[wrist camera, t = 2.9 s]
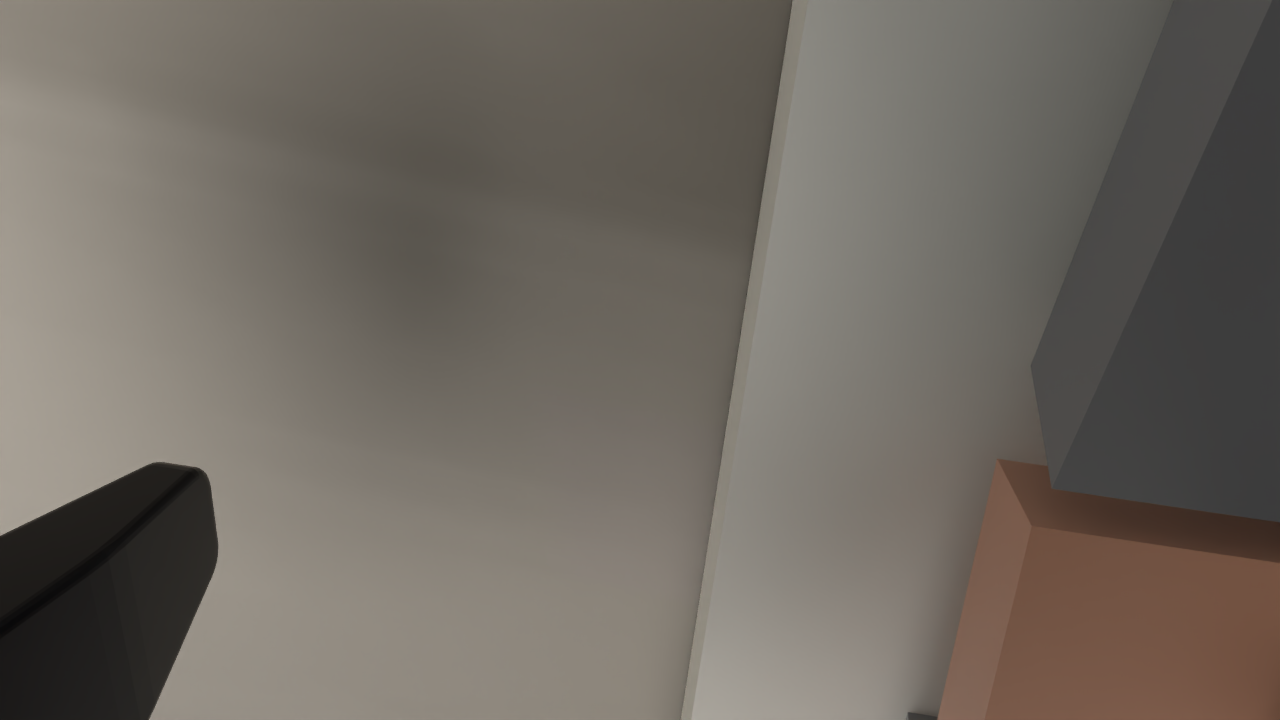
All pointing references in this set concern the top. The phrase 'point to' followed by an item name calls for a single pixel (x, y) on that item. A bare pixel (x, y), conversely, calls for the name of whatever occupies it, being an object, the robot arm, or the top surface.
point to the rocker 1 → (1179, 284)
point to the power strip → (897, 335)
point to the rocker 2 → (1114, 610)
